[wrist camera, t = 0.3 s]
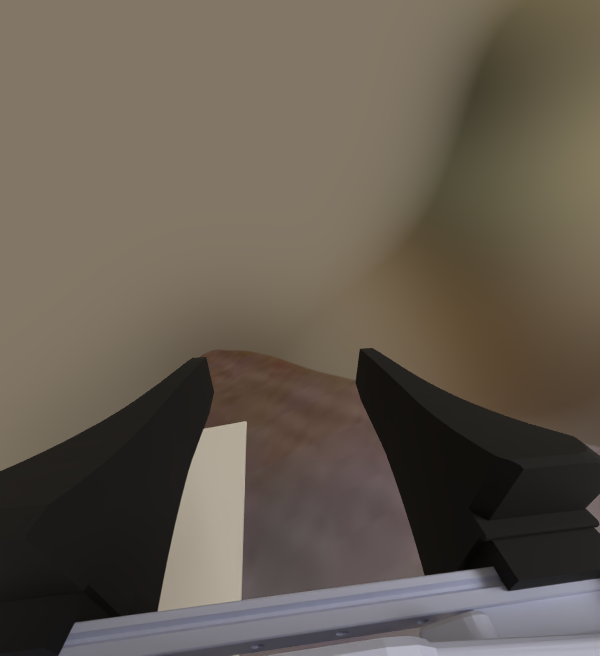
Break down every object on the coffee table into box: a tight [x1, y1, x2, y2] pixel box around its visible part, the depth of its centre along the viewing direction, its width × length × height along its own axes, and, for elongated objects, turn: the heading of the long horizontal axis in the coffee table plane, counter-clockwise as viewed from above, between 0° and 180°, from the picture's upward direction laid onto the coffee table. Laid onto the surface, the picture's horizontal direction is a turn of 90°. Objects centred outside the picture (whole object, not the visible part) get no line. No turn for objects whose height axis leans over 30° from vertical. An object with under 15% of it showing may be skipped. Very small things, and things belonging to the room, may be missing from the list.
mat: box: [158, 421, 247, 656], centre depth 20 cm, size 26×18×1 cm
